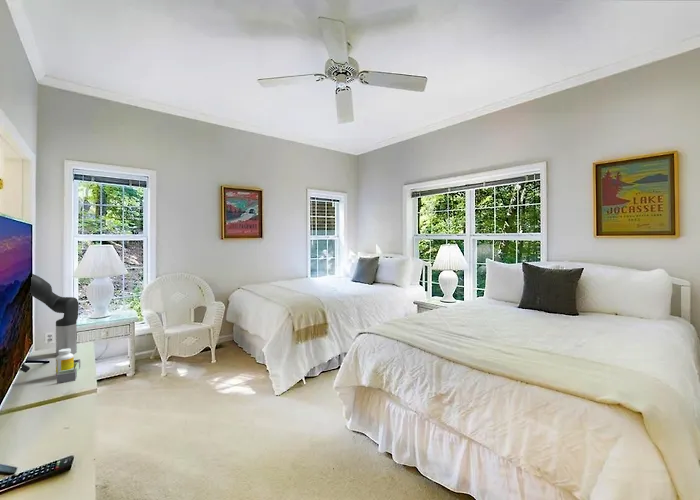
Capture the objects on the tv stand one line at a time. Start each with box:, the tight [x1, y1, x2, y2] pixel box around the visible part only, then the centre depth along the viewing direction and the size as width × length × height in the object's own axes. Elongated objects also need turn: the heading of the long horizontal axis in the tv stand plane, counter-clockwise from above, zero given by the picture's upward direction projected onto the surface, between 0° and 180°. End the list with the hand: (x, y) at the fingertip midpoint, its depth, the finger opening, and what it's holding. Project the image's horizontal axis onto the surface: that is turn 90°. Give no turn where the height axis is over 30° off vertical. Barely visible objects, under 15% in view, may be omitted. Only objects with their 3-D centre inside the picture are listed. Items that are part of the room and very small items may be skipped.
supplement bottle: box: [55, 348, 75, 378], centre depth 162 cm, size 7×7×13 cm
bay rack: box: [56, 359, 81, 384], centre depth 163 cm, size 20×6×4 cm, turn 34°
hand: (28, 370), depth 155 cm, fingers closed
